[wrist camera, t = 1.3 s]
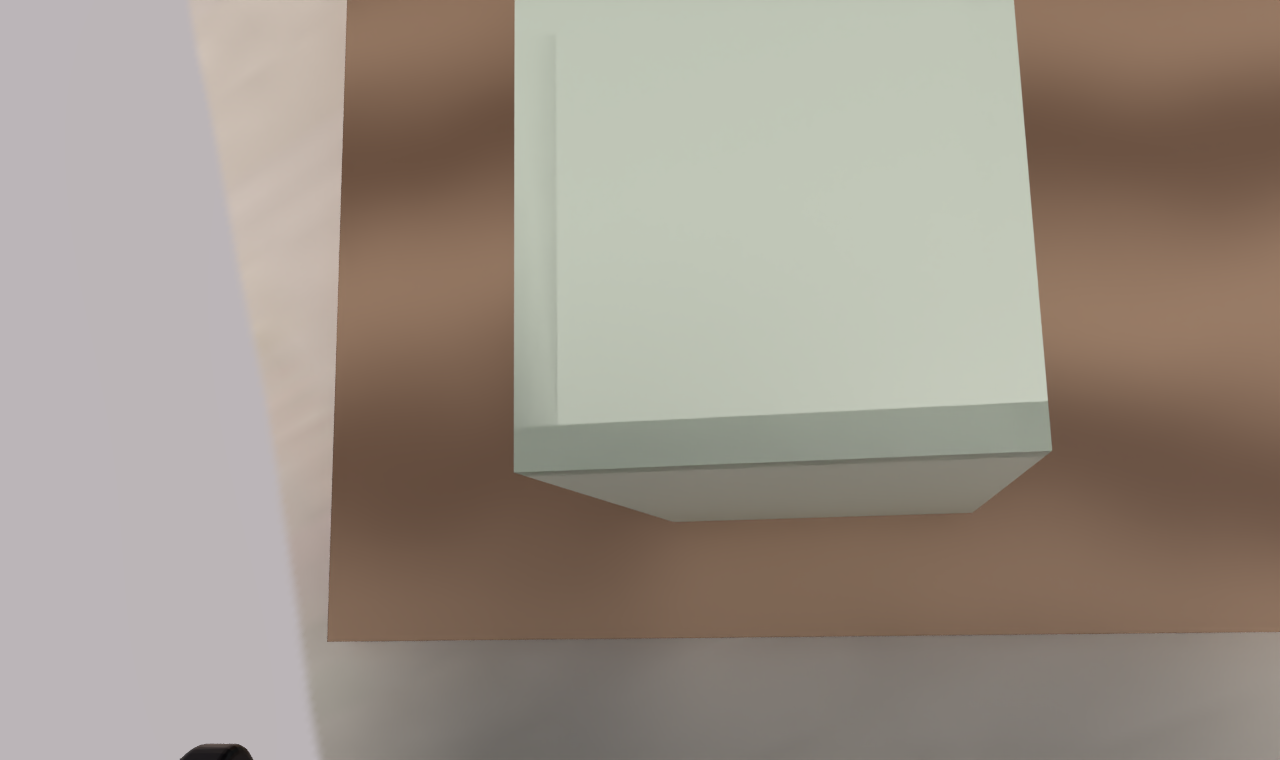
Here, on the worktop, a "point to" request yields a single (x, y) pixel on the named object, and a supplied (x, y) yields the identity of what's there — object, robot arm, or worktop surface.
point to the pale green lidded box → (774, 256)
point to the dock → (833, 546)
